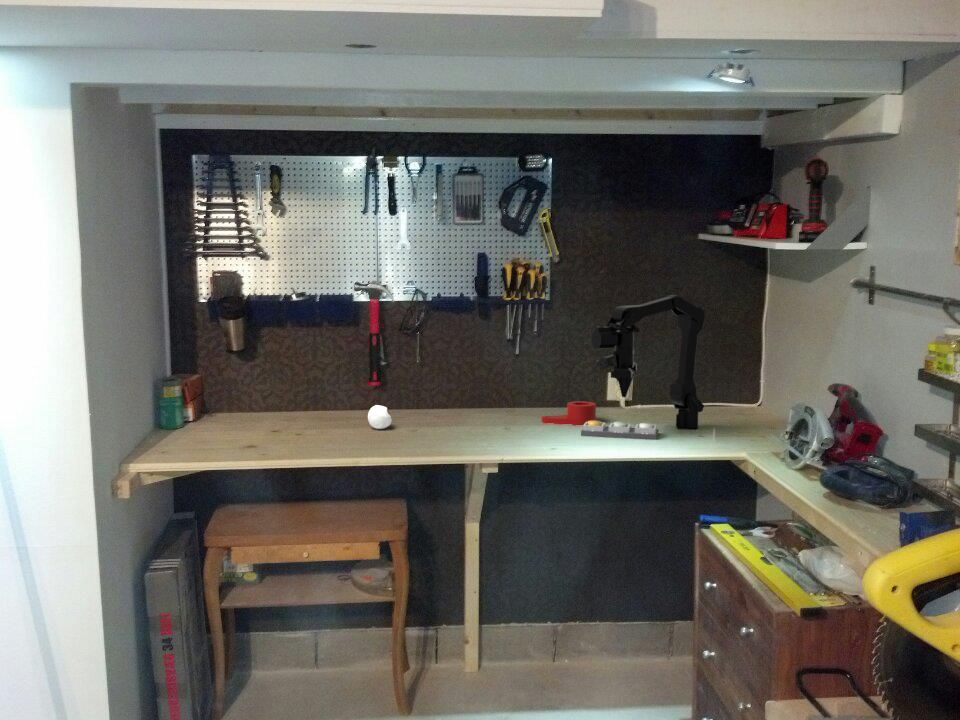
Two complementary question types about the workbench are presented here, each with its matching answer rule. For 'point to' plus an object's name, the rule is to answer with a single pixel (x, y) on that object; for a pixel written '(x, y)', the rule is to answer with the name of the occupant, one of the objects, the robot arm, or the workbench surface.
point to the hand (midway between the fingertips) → (623, 396)
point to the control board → (620, 431)
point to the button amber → (594, 423)
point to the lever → (574, 414)
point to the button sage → (619, 424)
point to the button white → (645, 425)
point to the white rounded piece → (379, 417)
